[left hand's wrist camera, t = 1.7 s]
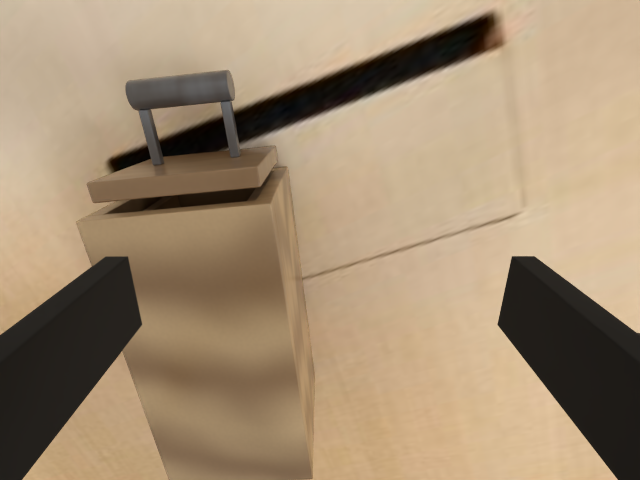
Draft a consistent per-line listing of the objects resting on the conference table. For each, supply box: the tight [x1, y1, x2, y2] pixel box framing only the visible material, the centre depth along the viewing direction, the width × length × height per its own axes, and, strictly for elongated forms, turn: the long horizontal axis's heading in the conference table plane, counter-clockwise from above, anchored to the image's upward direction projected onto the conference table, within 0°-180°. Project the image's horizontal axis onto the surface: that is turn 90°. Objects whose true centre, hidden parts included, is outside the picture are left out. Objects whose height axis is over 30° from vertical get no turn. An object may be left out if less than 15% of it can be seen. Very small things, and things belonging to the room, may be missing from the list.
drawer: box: [87, 70, 278, 211], centre depth 27 cm, size 26×10×9 cm, turn 6°
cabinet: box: [76, 167, 315, 480], centre depth 29 cm, size 22×11×11 cm, turn 6°
